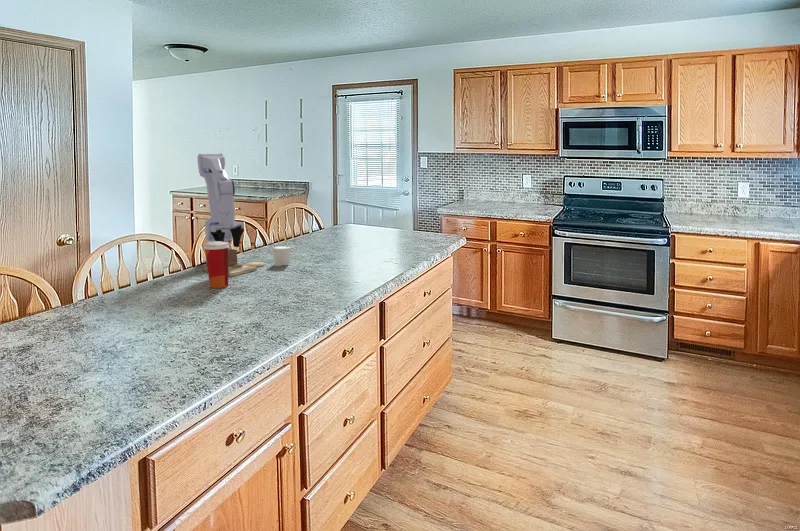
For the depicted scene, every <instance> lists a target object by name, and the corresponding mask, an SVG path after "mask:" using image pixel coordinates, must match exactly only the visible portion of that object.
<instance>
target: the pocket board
mask: <svg viewBox="0 0 800 531" xmlns="http://www.w3.org/2000/svg"><path fill="white" fill-rule="evenodd" d="M257 270H258V267H253V266H246V265H244V264H243V263H239V262H237V265H234V266H230V267H229V266H228V275H230V277H236V276H240V275H243V273H244V274H247V272H248V273H251V271H252V272H255V271H257ZM202 271H203V272H205V273H208V269H207V266H206V267H203V268H202Z"/></svg>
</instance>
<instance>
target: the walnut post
mask: <svg viewBox="0 0 800 531" xmlns="http://www.w3.org/2000/svg"><path fill="white" fill-rule="evenodd" d="M237 252H238V251H237V249H232V248H229V249H228V266H229V267H230V266H234V265H237V263H238V253H237Z"/></svg>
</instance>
